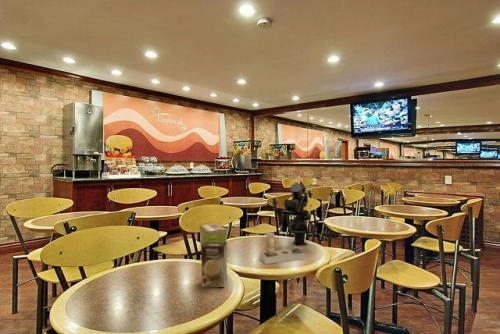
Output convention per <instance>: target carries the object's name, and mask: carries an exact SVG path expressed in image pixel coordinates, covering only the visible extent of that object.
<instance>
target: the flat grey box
mask: <svg viewBox="0 0 500 334" xmlns="http://www.w3.org/2000/svg"><path fill="white" fill-rule="evenodd" d="M305 255H306V254H305V252H303V251H302V250H301V249H299V248H290V249H281V250H275V256H268V257H267V256H266V251H264V252H263V251H262V252H260V253H259V257H260V260H261V261H262V262H263V263H264V265H269V264H273V263H274V264H277V263H285V262H291V261H292V262H294V261H300V260H305V258H306V256H305Z"/></svg>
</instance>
